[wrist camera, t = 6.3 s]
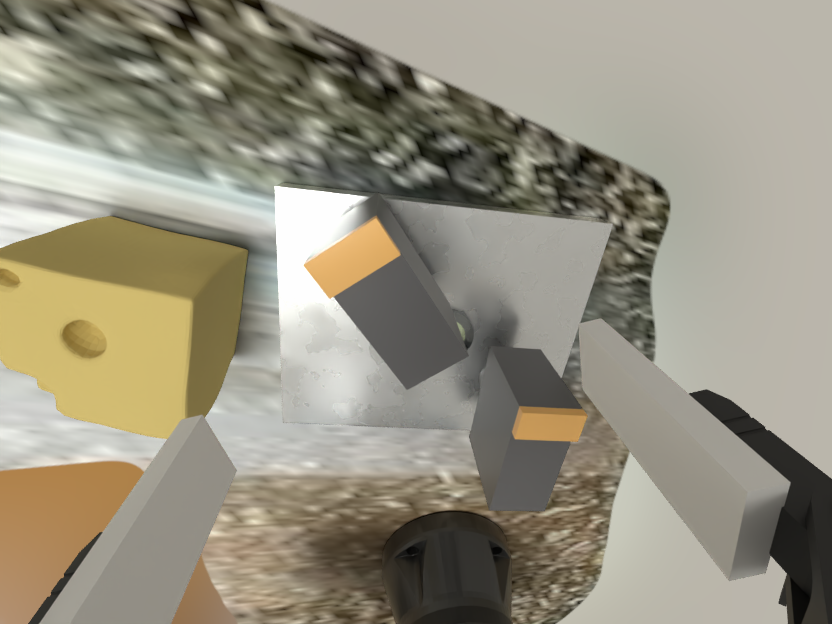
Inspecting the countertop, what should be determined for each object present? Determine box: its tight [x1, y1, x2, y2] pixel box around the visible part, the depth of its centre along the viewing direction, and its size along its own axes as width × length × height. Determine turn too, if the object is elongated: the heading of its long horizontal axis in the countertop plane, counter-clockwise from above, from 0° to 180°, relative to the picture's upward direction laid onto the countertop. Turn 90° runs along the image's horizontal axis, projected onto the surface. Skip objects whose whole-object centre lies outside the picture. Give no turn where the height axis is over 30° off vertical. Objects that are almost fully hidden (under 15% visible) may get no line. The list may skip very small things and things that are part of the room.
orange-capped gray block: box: [303, 192, 469, 390], centre depth 24 cm, size 9×4×10 cm, turn 31°
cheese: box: [0, 216, 248, 439], centre depth 26 cm, size 10×11×10 cm
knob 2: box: [469, 346, 588, 511], centre depth 29 cm, size 9×4×10 cm, turn 173°
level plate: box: [275, 183, 613, 430], centre depth 32 cm, size 20×24×3 cm
